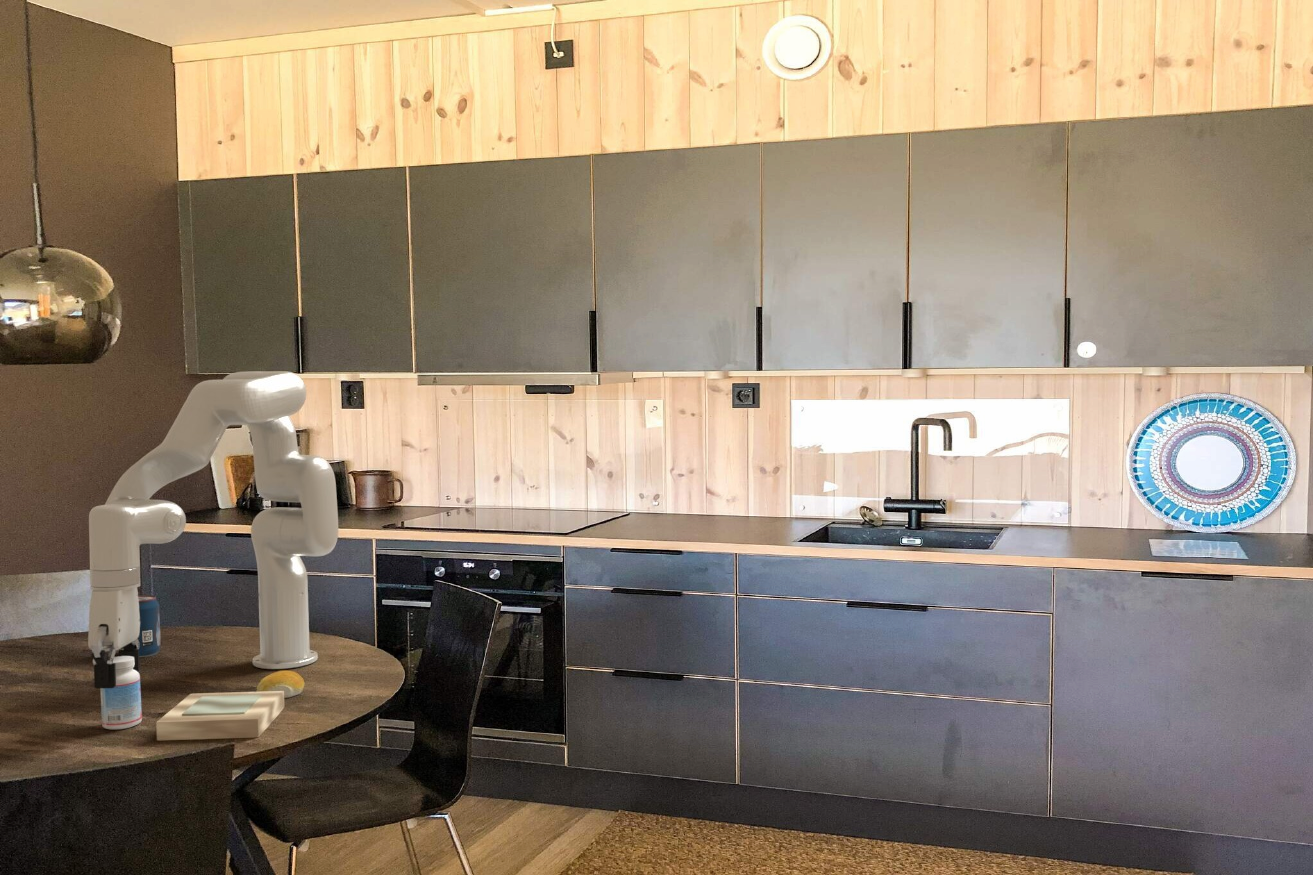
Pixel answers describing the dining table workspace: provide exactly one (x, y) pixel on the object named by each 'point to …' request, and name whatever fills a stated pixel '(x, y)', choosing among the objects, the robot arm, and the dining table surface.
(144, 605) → the soda can
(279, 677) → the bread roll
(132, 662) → the pill bottle
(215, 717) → the birch plinth
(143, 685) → the dining table surface
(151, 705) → the dining table surface
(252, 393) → the robot arm
